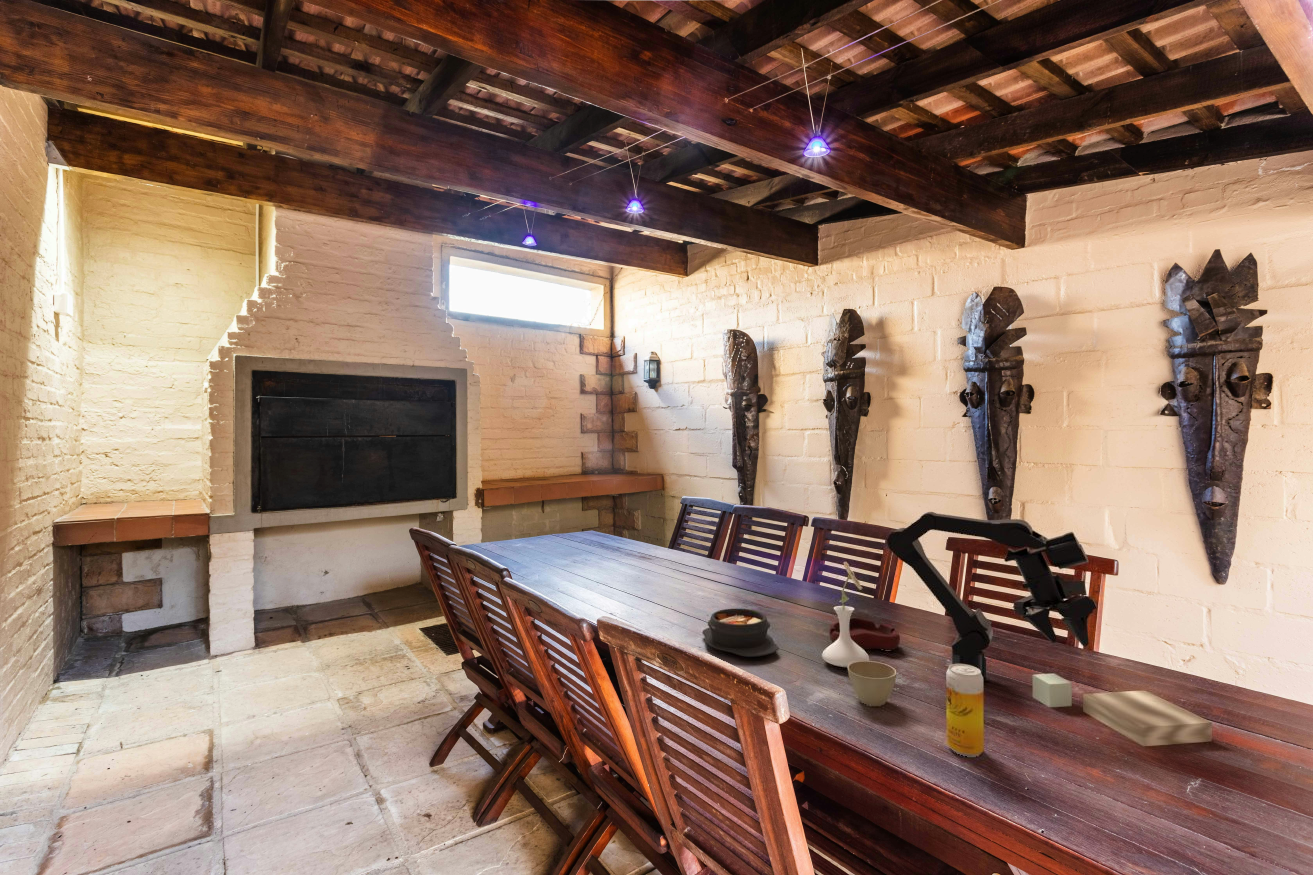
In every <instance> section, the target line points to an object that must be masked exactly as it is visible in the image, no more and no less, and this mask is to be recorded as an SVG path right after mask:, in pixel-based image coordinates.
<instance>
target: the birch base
mask: <svg viewBox="0 0 1313 875" xmlns="http://www.w3.org/2000/svg"><path fill="white" fill-rule="evenodd" d="M1082 712H1084V713H1086V714H1087V715H1088V716H1091V717H1092V718H1094V719H1095V720H1097V721H1099V722H1101V723H1103V724H1104V725H1106V726H1107V727H1109V728H1111V729H1113V730H1114V731H1117V732H1118V733H1120V734H1122V735H1123V736H1125V737H1126V738H1128V739H1130V740H1132V741H1133V742H1135V743H1137V744H1138V745H1140V746H1142V747H1150V746H1168V745H1179V744H1192V743H1206V742H1212V741H1213V740H1212V738H1213V736H1212V735H1213V734H1212V728H1213V724H1212V721H1210V720H1207V719H1206V718H1204V717H1201V716H1199V715H1197V714H1195V713H1193V712H1191V711H1189V710H1187V709H1184V708H1182V707H1180V706H1179V705H1177V704H1175V703H1172V702H1170V701H1168V700H1166V699H1163V698H1161V697H1159V696H1157V695H1155V694H1153V693H1151V692H1149V691H1147V690H1130V691H1129V690H1128V691H1127V690H1126V691H1113V692H1099V693H1098V692H1097V693H1095V692H1094V693H1084V694H1083V695H1082Z"/></svg>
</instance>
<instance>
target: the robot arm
mask: <svg viewBox="0 0 1313 875" xmlns="http://www.w3.org/2000/svg"><path fill="white" fill-rule="evenodd" d="M929 531H937V532H938V531H939V532H944V533H952V534H959V535H965V536H972V537H979V538H984V539H987V540H990V541H993V542H994V543H998V544H1001V545H1003V546H1007V547H1010V548H1007V553H1006V556H1005V558H1004V559H1003V560H1004V562H1006V563H1007V562H1011V561H1014V562H1015V563H1016V566H1017V567H1018V570H1019V571H1020V574H1021V576H1022V578H1023V580H1024V582H1023V583H1021V586H1022V588H1023V589H1028V591H1029V593H1030V595H1028V596H1025V597H1022V598H1021V599H1018V600H1015V601H1014V604H1013V607H1012V608H1013V609H1014V612H1015V614H1016V615H1019V616H1020V617H1021V618H1022V619H1024V620H1025V621H1027V623H1029V624H1030V625H1032V627H1034V628H1035V629H1036V630H1037V631H1039V633H1041V634H1042V635H1043V636H1044V637H1045V638H1046V639H1048V640H1049V641H1050V642H1051V643H1052V644H1055V643H1058V638H1057V635H1056V632H1055V630H1054V627H1053V625H1052V621H1051V619H1050V611H1057V612H1058V614H1059V615H1060V616H1061V618H1060V619H1061V621H1062V622H1063V623H1064V625H1065V626H1066V627H1067V628H1068V629H1069V631H1070V632H1071V633H1072V635H1073V636H1074V637H1075V638H1076V640H1077V641H1078V642H1079V643H1080V644H1081V646H1082V647H1088V646H1090V645H1089V642H1090V641H1089V631H1088V619H1089V617H1090V615H1091V614H1093V613H1094V610H1096V609H1098V606H1097V604H1096V602H1095V600H1094V598H1093V597H1090V596H1088V594H1087V588H1086V583H1085V582H1086V581H1085V580H1065V578H1064V577H1063V576H1060V575H1059V574H1053V572H1052V570H1051V568H1050V565H1051V566H1052V567H1054V568H1058V569H1059V570H1062V569H1066V568H1071V567H1074V566H1075V567H1076V566H1078V565H1083V564H1085V563H1086V564H1087V563H1089V559H1088V556H1087V554H1086V552H1085V550H1084V547H1083V546H1082V544H1081V543H1080V542H1079V540H1078V538H1077V537H1076V536H1075V533H1074V532H1073V531H1070V532H1066V533H1065V534H1061V535H1059V536H1055V537H1052V538H1048V537H1046V536H1044V535H1042V534H1041V533H1039V532H1037V531H1035V530H1033V528H1032V525H1031V524H1030V523H1029V522H1028V521H1026V520H1024V519H1019V518H1018V519H1017V518H1012V519H1011V518H1010V519H1009V518H1008V519H1006V518H1005V519H990V520H989V519H988V520H987V519H979V518H973V517H964V516H957V515H950V514H944V513H943V514H942V513H937V512H933V511H928V512H925V513H924V514H922V515H921V516H920V517H919V518H917V520H915V521H913V523H911V524H910V525H909V526H907V527H899V528H898V529H896V530H894V531H893V532H891V533H890V534H889V535H888V537H887V540H886V546H887V548H888V550H889V551H890V552H891V553H893V555H895V556H896V557H897V559H899V560H900V561H902V562H903V563H905V564H906V565H907V566H909V567H911V569H912V570H914V572H915V573H916V574H917V576H918V577H919V578H920V580H921V581H922V582H923V583H924V585H925V586H926V587H927V588H928V590H929V591H930V592H931V593H932V595H933V596H934V597H935V598H936V600H937V601H938V602H939V603H940V605H941V606H942V607H943V608H944V609H945V611H946V612H947V613H948V615H949V616H950V617H951V620H952V621H953V624H954V627H955V628H956V631H957V633H958V635H957V636H956V638H955V640H954V641H953V642H952V645H951V649H952V650H951V663H952V664H966V665H971V666H974V667H976V668H978V669H979V670H980V671H981V674H982V676H983V683H984V682H990V678H989V677H987V658H986V657H985V654H986V652H984V651H985V650H986V649H987V648H988V647H989V645H990V643H991V641H992V638H993V636H994V629H993V627H992V625H991V624H992V621H991V620H989V619H988V618H987V617H986V616H985V615H984V613H983V610H981V608H977V609H975V610H973V609H972V608H971V607H970V606H967V604H965V601H963V600H962V599H961V596H959V594H958V593H957V592H956V591H955V590H954V589H953V587H952V586H951V585H950V583H948V580H946V579H945V577H943V575H942V574H941V573H940V571H939V570H938V569H937V568H936V567H935V566H934V564H933V563H932V561H931V560H930V559H929V558H928V557H927V555H926V552H925V550H924V548H923V545H922V543H921V542H920V540H919V539H920V538H921V537H922V536H924V535H925V534H927V533H928V532H929ZM1014 549H1016V550H1014ZM1030 549H1031V550H1030ZM1044 553H1045V555H1046V557H1047V558H1046V557H1045V555H1044ZM1047 560H1048V561H1049V563H1050V565H1049V563H1048V562H1047ZM952 664H951V665H952Z"/></svg>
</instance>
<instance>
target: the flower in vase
mask: <svg viewBox="0 0 1313 875" xmlns="http://www.w3.org/2000/svg"><path fill="white" fill-rule="evenodd" d="M843 565H844V568H845V570H846V572H847V574H848V575H847V578H846V580H845V582H844V584H843V587H842V590H841V599H840V600H839V603H842V605H838V606H834V607H833V609H834V610H833V611H834V612H835V613H836V615H837V617H838V620H839V621H838V622H839V623H840V636H839V638H838V639H837V640H836V641H835V642H834V643H831V644H830V645H829V646H827V647H826V648H825V649H824V650H823V652H822V654H821V657H822V659H823V660H824V661H825V662H827V663H828V664H831V665H833V666H837V667H840V668H841V667H842V668H848V665H849V664H851V663H853V662H857V661H871V660H870V657H869V654H868V653H867V652H866V651H865V649H862V648H861V647H860V646H858V645H857V644H856V643H855V642H854V641H853V640H852V639H851V637H850V633H849V622H850V618H851V616H852V613H853V612H854V611H855V608H854V607H852V606H847V605H845V604H844V603H845V602H847V601H848V600H850V597H848V596H847V595H846V593H845V587H846V585H847V584H848V581H849V580H851V581H853V583H854V585H855V586H856V587H857V589H858V590H862V589H864V588H863V587H862V585H861V582H860V581H859V579H857V578H856V576H855V575H856V574H855V573H854V571H853V570H851V567H850V565H849V563H848V562H847V561H845V562H843Z"/></svg>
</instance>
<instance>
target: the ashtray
mask: <svg viewBox="0 0 1313 875" xmlns="http://www.w3.org/2000/svg"><path fill="white" fill-rule="evenodd" d="M849 633H850V637H851V639H852V640H853V641H854V642H855V643H856V644H857V645H858V646H860V647H861V648H862V649H863V650H865V649H867V650H877V649H879V650H881V649H883V650H892V651H893V650H895V649H897V648H898V647H899V645H900V643H901V642H900V641H901V636H900V634H899V632H898V631H897V630H896V629H895V628H894V627H893V626H892V625H888V624H884V623H880V624H879V626H878V625H876V624H875V621H872V620H868V619H864V618H860V617H850V622H849ZM828 636H829V639H830V641H831V644H833V643H834V642H835V641H836V640H837V639H838V638H839V636H840V623H839V621H837V622H834V623H832V624H830V626H829V630H828Z"/></svg>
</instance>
